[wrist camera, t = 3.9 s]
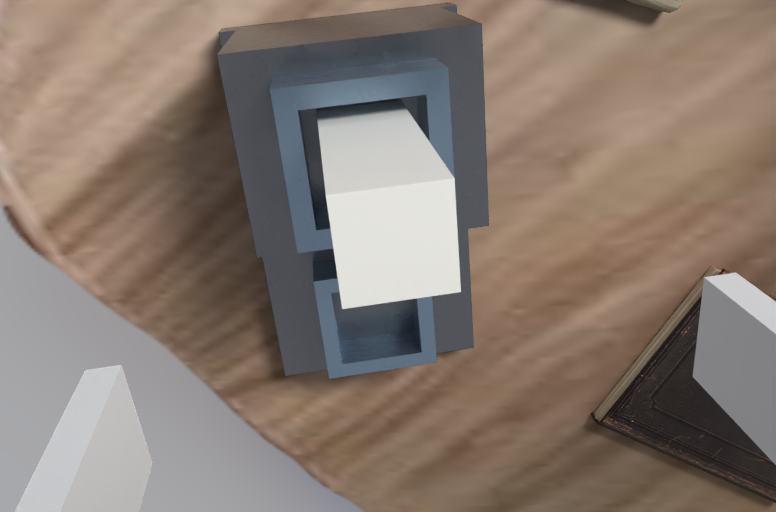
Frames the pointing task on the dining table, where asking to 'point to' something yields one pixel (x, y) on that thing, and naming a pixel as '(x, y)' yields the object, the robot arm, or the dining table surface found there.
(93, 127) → the dining table surface
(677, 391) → the hardcover book
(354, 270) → the plug
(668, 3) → the olive rectangular tray
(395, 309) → the stepped holder stand
